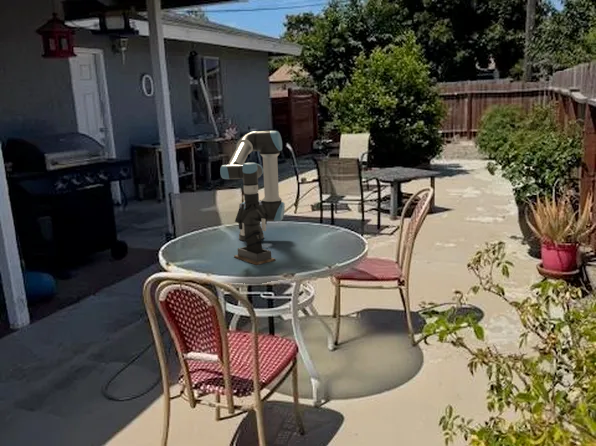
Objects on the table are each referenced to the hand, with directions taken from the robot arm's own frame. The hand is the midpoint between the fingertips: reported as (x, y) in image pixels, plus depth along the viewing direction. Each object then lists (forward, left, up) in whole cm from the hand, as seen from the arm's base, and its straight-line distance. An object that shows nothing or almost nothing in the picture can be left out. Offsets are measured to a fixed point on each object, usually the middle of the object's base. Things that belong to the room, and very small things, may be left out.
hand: (253, 232), depth 292 cm
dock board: (0, 0, -14) cm, 14 cm away
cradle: (0, 0, -13) cm, 13 cm away
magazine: (0, 0, -13) cm, 13 cm away
